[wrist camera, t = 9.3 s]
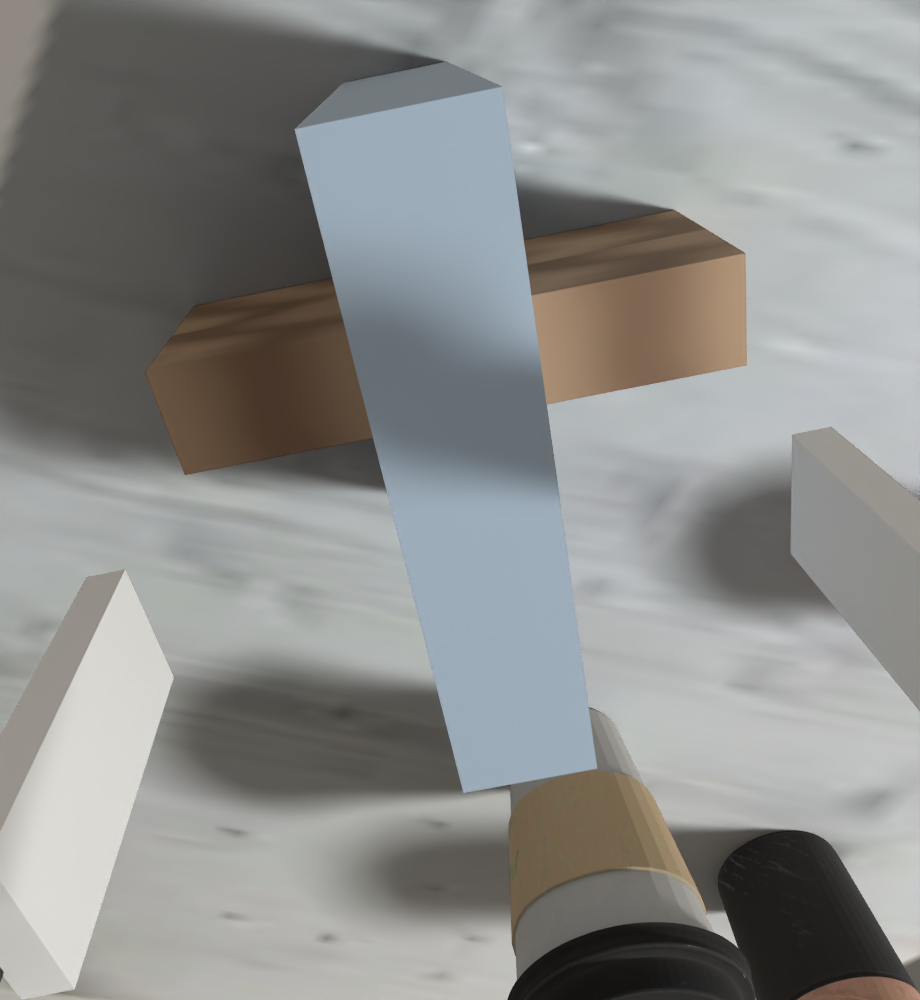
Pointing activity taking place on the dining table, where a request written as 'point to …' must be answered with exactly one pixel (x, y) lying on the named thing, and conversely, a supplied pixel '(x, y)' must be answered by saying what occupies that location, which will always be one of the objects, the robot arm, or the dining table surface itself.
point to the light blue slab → (456, 404)
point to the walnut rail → (559, 325)
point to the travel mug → (807, 924)
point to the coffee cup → (608, 892)
